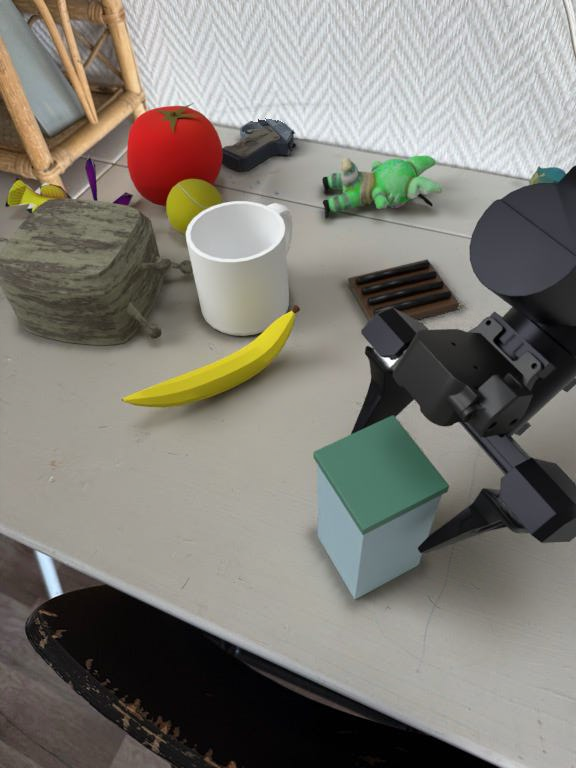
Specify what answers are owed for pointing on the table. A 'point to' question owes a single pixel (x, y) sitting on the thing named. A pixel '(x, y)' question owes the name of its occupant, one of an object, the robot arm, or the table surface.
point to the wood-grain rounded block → (84, 272)
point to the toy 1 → (54, 191)
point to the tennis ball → (190, 202)
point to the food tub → (375, 503)
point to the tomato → (171, 151)
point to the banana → (219, 370)
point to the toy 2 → (380, 184)
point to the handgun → (259, 144)
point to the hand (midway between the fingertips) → (383, 497)
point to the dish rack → (404, 291)
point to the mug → (241, 264)
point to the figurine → (547, 175)
